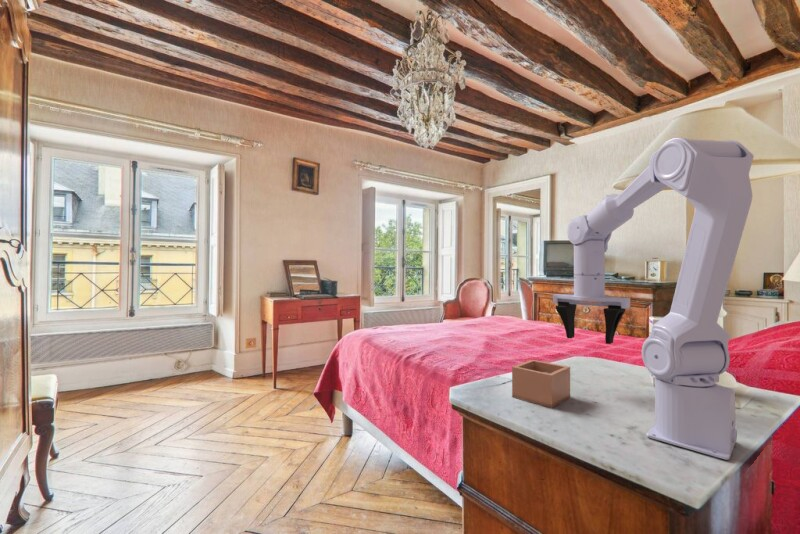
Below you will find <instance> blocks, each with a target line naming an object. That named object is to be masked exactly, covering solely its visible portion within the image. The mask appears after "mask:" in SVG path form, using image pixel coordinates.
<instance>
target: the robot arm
mask: <svg viewBox="0 0 800 534" xmlns="http://www.w3.org/2000/svg"><path fill="white" fill-rule="evenodd" d="M754 157H755V155H754V154H753V153H752V152H751V151H749V149H748V148H746V147H745V146H744V145H743V144H742V143H741V142H739V141H737V140H730V139H726V140H712V139H711V140H709V139H694V138H693V139H692V138H691V139H690V138H684V137H673V138H671V139H668V140H666V141H665V142H664V143H663V144H662V145H661V146H660V147H659V148H658V149H657V150H656V151H654V152H653V153H652V154H651V155H650V159H649V163H648V166H647V167H645V169H644V170H643V171H642V172H640V174H639V175H638V176H636V177H635V178H634V180H633V181H632V182H630V184H629V185H628V186H627V187H626V188H625V189H623V191H621V192H620V193H619V194H616V193H614V194H613V193H612V194H610V195H609V194H607V195H605V196H604V197H602V201H600V203H598V204H597V205H596V206H594V207H593V208H592V209H590V210H589V211H588V212H587V214H585V215H582V216H581V215H575V216H574V217H572V219H571V220H570V222H569V224H568V226H567V238H568V241H569V242H570V243H571V244H572V245H573V294H568V293H567V294H566V293H563V294H562V293H556V294H555V293H554V294H552V304H557V305H555V310H556V312H557V313H558V315H559V317H560V319H561V321H562V324H563V327H564V330H565V334H566V338H567V339H573V338H575V331H576V330H575V317H576V309H577V305H578V306H579V305H580V306H581V305H582V306H591V307H592V306H596V307H606V308H603V309H602V310H603V315H604V324H605V337H604V338H605V339H604V340H605V344H608V345H611V344H614V339H615V335H616V331H617V328H618V326H619V324H620V321H621V320H622V318H623V316H624V314H625V312H626V309H630V308H631V297H621V296H609V295H606V293H605V292H606V279H605V278H606V272H605V270H606V267H605V266H606V265H605V264H606V263H605V262H606V261H605V260H606V258H605V253H607V250H608V244H609V241H610V239H611V237H612V234H613V232H614V231H615V230H617V229H618V228H620V227H621V226H622V225H624V224H625V223H627V222H629V221H630V220H631V219H632V218H633V216H634V212H635V210H634V209H635V208H637V207H638V206H640V205H642V204H643V203H645V202H646V201H648V200H650V199H651V198H652V197H654V196H656V195H657V194H659V193H660V192H662V191H664V190H665V189H667V188H669V189H671V190H673V191H675V192H676V193H678V194H680V195H682V196H684V197H685V198H686V199H687V201H689V203H690V204H691V205H692V206H693V208H694V213H693V217H692V221H691V226H690V229H689V233H688V238H687V241H686V246H685V249H684V254H683V258H682V262H681V266H680V270H679V273H678V278H677V282H676V286H675V291H674V294H673V297H672V303H671V306H670V310H669V313H668V314H666V315H665V316H662V317H663V318H662V319H660V320H659V321H658V322H656V323H655V324H654V325H653V327H652V331H651V334H650V336H648V337H646V338H645V340H644V342H643V343H642V346H641V357H642V361H643V364H644V367H645V369H647V370H648V372H649V374H650V373H651V376H652V377H655V386H654V424H653V426H652V427H651V428H650V429H649V430H648V431H647V432H646V433H645V434H646V437H647V438H650V439H652V440H656V441H659V442H664V443H666V444H670V445H673V446H677V447H681V448H684V449H688V450H691V451H695V452H698V453H702V454H704V455H708V456H712V457H715V458H718V459H723V460H725V461H726V460H730V458H731V457H732V456H731V455H732V453H733V451H734V447H735V445H736V443H737V438H738V433H737V432H738V431H737V429H736V394H735V389H734V388H732V387H728V386H723V385H720V384H717V383H719V382H720V375H723V374H724V373H725V372H726V371H727V370H728V369H729V366H730V361H731V358H730V352H729V341H730V338H731V335H730V333H728V331H726V330H725V328H723V327H722V326H721V325H720V324H719V323H718V320H719V317H720V313H721V310H722V306H723V303H724V300H725V299H724V298H725V296H726V292H727V289H728V285H729V281H730V278H731V274H732V272H733V267H734V264H735V261H736V257H737V254H738V251H739V248H740V244H741V239H742V237H743V232H744V230H745V227H746V222H747V220H748V215H749V212H750V208H751V205H752V200H753V190H752V185H751V184H752V183H751V177H750V171H751V167H752V164H753V160H754Z"/></svg>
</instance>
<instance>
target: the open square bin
mask: <svg viewBox="0 0 800 534" xmlns="http://www.w3.org/2000/svg"><path fill="white" fill-rule="evenodd" d="M543 372H548V373H550V374H548V373H543ZM511 384H512V385H511V387H512V388H511V398H515V399H518V400H521V401H525V402H529V403H532V404H535V405H539V406H542V407H546V408H549V409H553V408H555V407H557V406H558V405H561V403H563V402H565V401H567V400H569V399H570V398H571V366H566V365H562V364H555V363H552V362H546V361H542V360H541V361H540V360H536V359H530V360H528V361H525V362H521V363H519V364H516V365H514V366H512V367H511Z"/></svg>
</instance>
